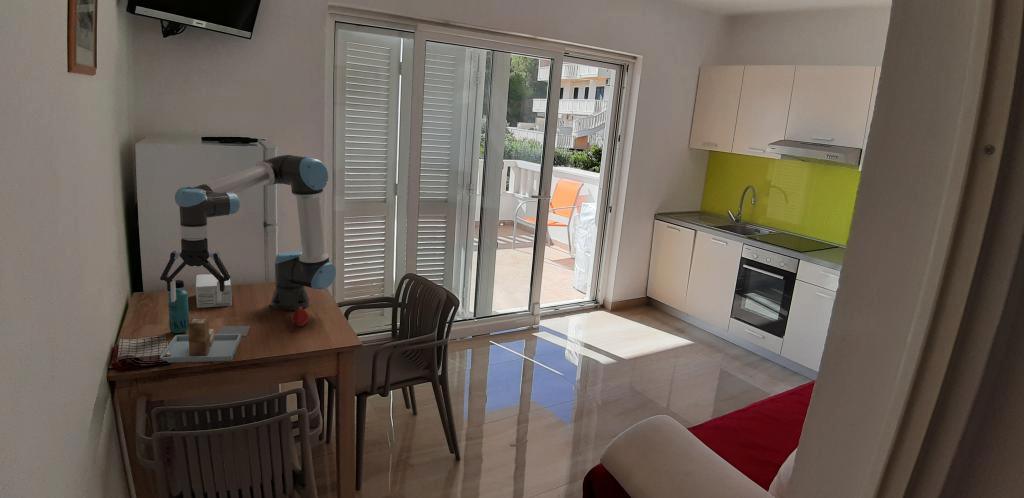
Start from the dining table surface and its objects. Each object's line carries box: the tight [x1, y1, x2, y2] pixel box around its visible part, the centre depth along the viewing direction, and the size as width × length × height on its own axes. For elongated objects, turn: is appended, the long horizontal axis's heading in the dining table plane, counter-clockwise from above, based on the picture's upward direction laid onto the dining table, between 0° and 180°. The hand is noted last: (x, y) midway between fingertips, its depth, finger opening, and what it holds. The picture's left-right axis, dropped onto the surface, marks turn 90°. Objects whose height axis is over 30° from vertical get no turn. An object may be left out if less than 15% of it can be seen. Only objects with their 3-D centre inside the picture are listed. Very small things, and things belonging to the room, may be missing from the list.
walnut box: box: [187, 317, 210, 356], centre depth 198 cm, size 5×5×12 cm
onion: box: [292, 307, 309, 328], centre depth 230 cm, size 6×6×8 cm
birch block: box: [209, 328, 215, 347], centre depth 206 cm, size 4×4×5 cm
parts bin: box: [159, 333, 242, 364], centre depth 203 cm, size 21×19×2 cm
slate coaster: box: [217, 325, 251, 338], centre depth 220 cm, size 10×10×1 cm
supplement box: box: [195, 272, 233, 309], centre depth 250 cm, size 17×13×9 cm
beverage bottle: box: [167, 279, 190, 334], centre depth 213 cm, size 6×7×20 cm
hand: (196, 300), depth 195 cm, fingers open, 13 cm apart
